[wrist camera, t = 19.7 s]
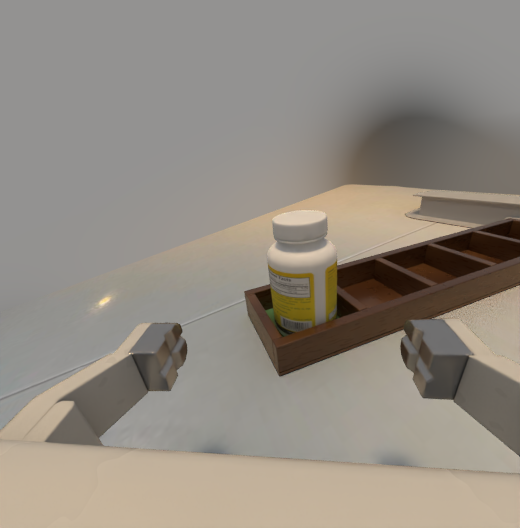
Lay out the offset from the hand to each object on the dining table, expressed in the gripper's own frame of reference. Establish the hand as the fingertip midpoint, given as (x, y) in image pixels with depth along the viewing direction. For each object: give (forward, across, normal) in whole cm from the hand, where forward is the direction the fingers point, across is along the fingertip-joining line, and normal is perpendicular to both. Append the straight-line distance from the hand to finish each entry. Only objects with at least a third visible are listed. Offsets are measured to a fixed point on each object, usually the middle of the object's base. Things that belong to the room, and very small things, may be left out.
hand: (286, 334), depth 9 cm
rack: (+17, -14, +9) cm, 24 cm away
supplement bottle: (+11, -1, +8) cm, 14 cm away
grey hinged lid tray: (+39, -34, +9) cm, 52 cm away
